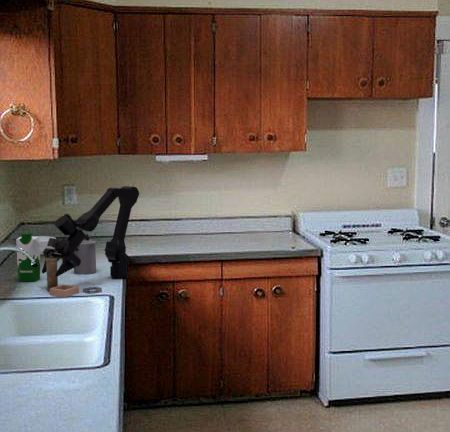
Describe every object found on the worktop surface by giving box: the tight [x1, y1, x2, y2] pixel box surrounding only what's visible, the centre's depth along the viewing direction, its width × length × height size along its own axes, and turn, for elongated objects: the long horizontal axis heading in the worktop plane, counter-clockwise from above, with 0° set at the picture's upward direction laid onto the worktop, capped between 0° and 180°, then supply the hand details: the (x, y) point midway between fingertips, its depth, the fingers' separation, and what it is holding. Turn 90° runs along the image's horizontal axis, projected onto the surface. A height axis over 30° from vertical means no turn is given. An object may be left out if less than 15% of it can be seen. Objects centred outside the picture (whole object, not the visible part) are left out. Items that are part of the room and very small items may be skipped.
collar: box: [49, 284, 80, 298], centre depth 248 cm, size 8×8×2 cm
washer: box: [82, 286, 103, 294], centre depth 253 cm, size 7×7×1 cm
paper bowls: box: [39, 235, 57, 256], centre depth 335 cm, size 15×15×8 cm
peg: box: [46, 257, 59, 293], centre depth 253 cm, size 4×4×13 cm
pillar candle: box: [73, 239, 97, 275], centre depth 287 cm, size 10×10×15 cm
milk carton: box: [15, 232, 41, 283], centre depth 272 cm, size 9×9×20 cm
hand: (49, 274), depth 252 cm, fingers open, 9 cm apart
